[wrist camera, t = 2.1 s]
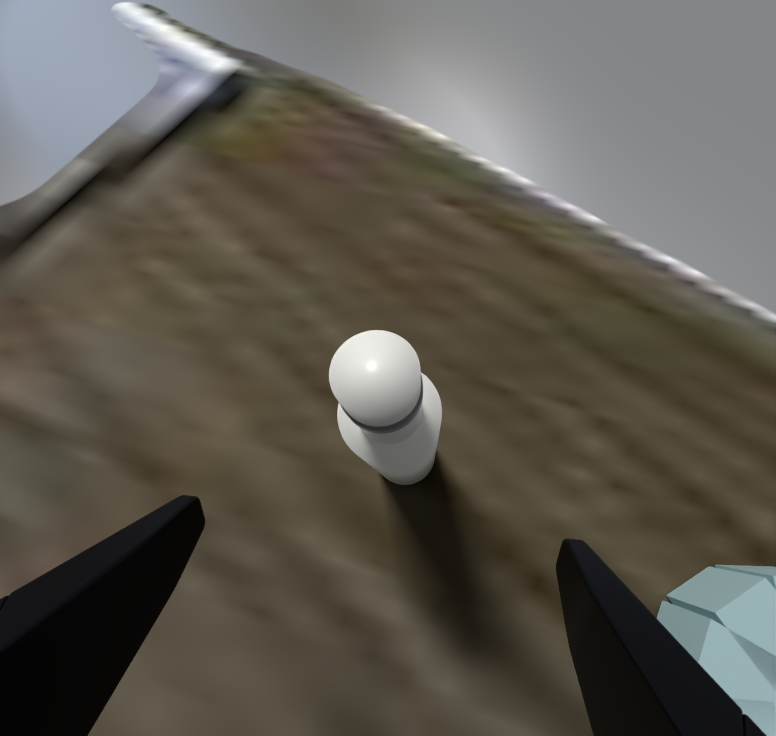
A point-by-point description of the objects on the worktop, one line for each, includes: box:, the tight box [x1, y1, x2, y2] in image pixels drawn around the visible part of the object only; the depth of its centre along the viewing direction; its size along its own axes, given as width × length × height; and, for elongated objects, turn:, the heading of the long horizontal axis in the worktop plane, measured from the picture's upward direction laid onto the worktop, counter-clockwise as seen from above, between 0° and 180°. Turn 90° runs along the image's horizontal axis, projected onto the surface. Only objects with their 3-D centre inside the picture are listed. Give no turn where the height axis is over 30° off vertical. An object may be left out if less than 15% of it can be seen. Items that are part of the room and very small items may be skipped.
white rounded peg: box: [329, 330, 442, 485], centre depth 14 cm, size 3×3×12 cm
